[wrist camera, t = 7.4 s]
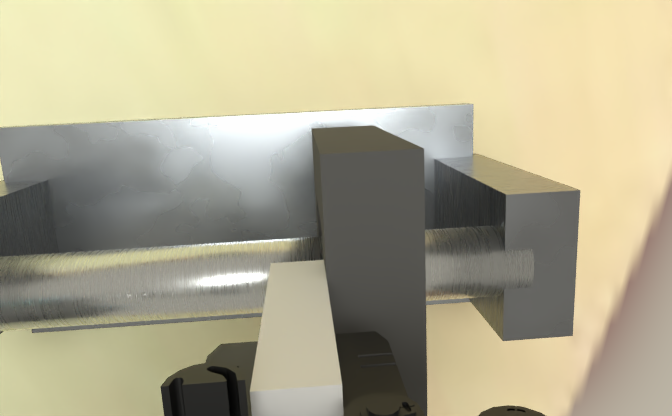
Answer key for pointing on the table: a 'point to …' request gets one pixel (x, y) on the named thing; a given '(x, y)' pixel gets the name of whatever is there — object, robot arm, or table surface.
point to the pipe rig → (258, 220)
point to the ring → (375, 240)
